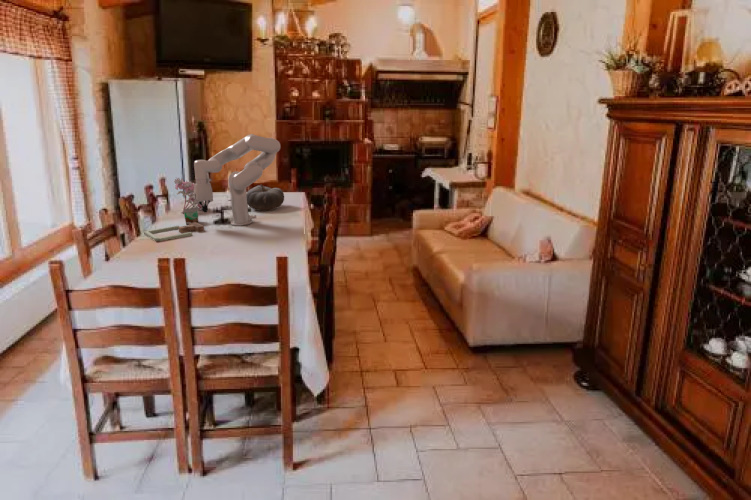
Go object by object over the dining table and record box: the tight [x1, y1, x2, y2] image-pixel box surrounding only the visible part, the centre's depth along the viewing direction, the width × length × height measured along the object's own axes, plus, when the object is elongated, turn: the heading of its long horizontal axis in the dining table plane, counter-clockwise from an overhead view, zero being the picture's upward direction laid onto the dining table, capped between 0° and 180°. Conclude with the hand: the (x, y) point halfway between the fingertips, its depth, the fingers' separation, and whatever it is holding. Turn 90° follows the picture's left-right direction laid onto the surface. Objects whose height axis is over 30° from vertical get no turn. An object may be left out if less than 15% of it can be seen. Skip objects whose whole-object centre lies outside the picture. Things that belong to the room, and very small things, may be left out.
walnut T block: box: [177, 222, 205, 234], centre depth 321 cm, size 12×13×3 cm
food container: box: [182, 204, 200, 226], centre depth 339 cm, size 12×6×10 cm, turn 168°
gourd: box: [246, 184, 285, 212], centre depth 372 cm, size 25×25×17 cm
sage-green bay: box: [143, 224, 193, 242], centre depth 314 cm, size 20×23×2 cm
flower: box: [173, 177, 205, 214], centre depth 370 cm, size 20×22×24 cm
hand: (205, 212), depth 325 cm, fingers closed
